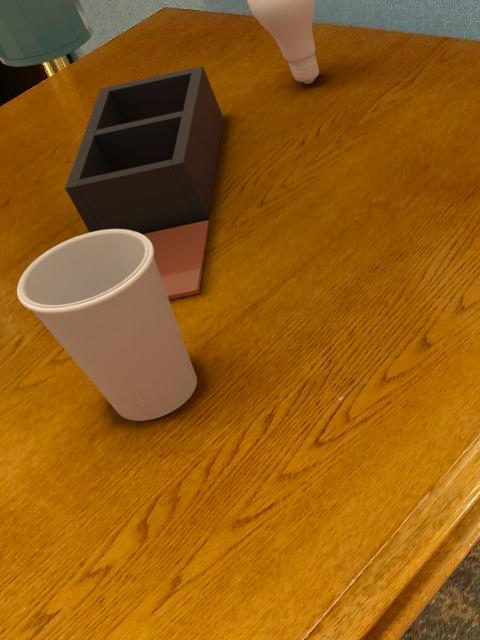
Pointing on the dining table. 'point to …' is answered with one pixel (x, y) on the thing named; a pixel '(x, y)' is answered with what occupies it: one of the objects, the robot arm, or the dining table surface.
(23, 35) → the cup
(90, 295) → the dixie cup
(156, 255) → the coaster
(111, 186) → the divided storage box
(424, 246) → the dining table surface
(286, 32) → the lightbulb
